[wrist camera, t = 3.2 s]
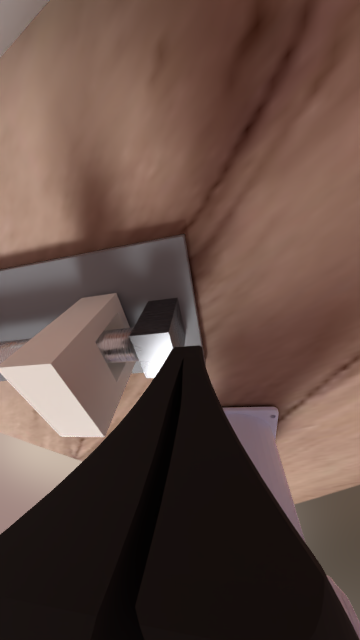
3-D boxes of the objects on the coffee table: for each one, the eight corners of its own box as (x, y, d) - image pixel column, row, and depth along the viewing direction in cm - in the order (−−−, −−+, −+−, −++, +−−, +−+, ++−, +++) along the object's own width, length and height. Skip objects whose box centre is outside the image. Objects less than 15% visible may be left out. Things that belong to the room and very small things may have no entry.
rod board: (205, 361, 16) (206, 413, 12) (-20, 376, 20) (-72, 418, 16) (184, 233, 11) (174, 252, 7) (-109, 290, 15) (-215, 321, 11)
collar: (139, 352, 15) (104, 437, 9) (110, 354, 15) (61, 436, 10) (116, 293, 12) (50, 363, 7) (81, 297, 13) (-5, 367, 7)
